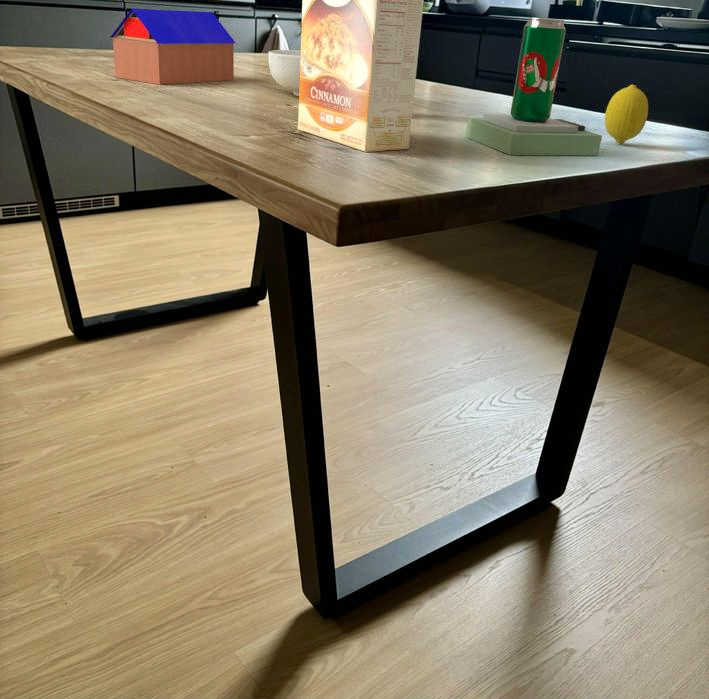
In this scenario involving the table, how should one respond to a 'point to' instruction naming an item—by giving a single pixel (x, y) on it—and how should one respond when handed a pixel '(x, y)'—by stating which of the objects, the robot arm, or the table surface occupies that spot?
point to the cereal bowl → (286, 68)
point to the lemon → (626, 114)
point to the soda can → (537, 69)
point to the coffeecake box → (359, 71)
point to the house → (172, 47)
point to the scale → (532, 136)
